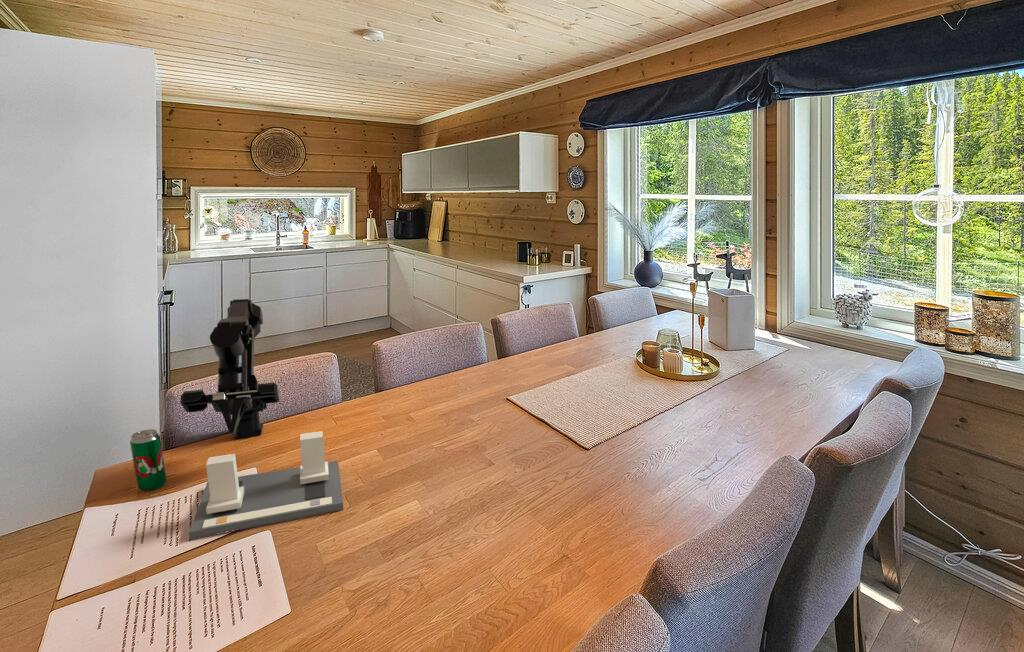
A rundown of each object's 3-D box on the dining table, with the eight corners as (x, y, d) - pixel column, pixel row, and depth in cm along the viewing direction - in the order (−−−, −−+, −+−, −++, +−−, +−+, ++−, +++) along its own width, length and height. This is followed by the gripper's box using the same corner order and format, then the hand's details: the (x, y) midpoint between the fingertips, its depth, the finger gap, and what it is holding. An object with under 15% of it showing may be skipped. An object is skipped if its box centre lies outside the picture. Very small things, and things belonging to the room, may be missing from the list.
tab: (300, 470, 108) (297, 431, 106) (328, 466, 110) (325, 427, 108) (300, 484, 102) (296, 443, 100) (329, 479, 104) (326, 439, 102)
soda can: (159, 477, 108) (151, 426, 105) (172, 483, 106) (164, 431, 103) (133, 488, 104) (123, 435, 101) (146, 495, 101) (137, 441, 99)
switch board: (208, 488, 104) (207, 480, 104) (338, 466, 114) (337, 459, 113) (190, 539, 88) (188, 530, 88) (343, 509, 98) (342, 501, 97)
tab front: (212, 497, 97) (206, 454, 95) (244, 491, 99) (239, 449, 97) (206, 514, 92) (200, 469, 90) (240, 507, 94) (235, 463, 92)
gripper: (280, 379, 124) (282, 439, 117) (194, 388, 117) (190, 452, 110) (276, 359, 115) (278, 422, 108) (182, 366, 108) (177, 434, 101)
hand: (231, 433), depth 107 cm, fingers closed
